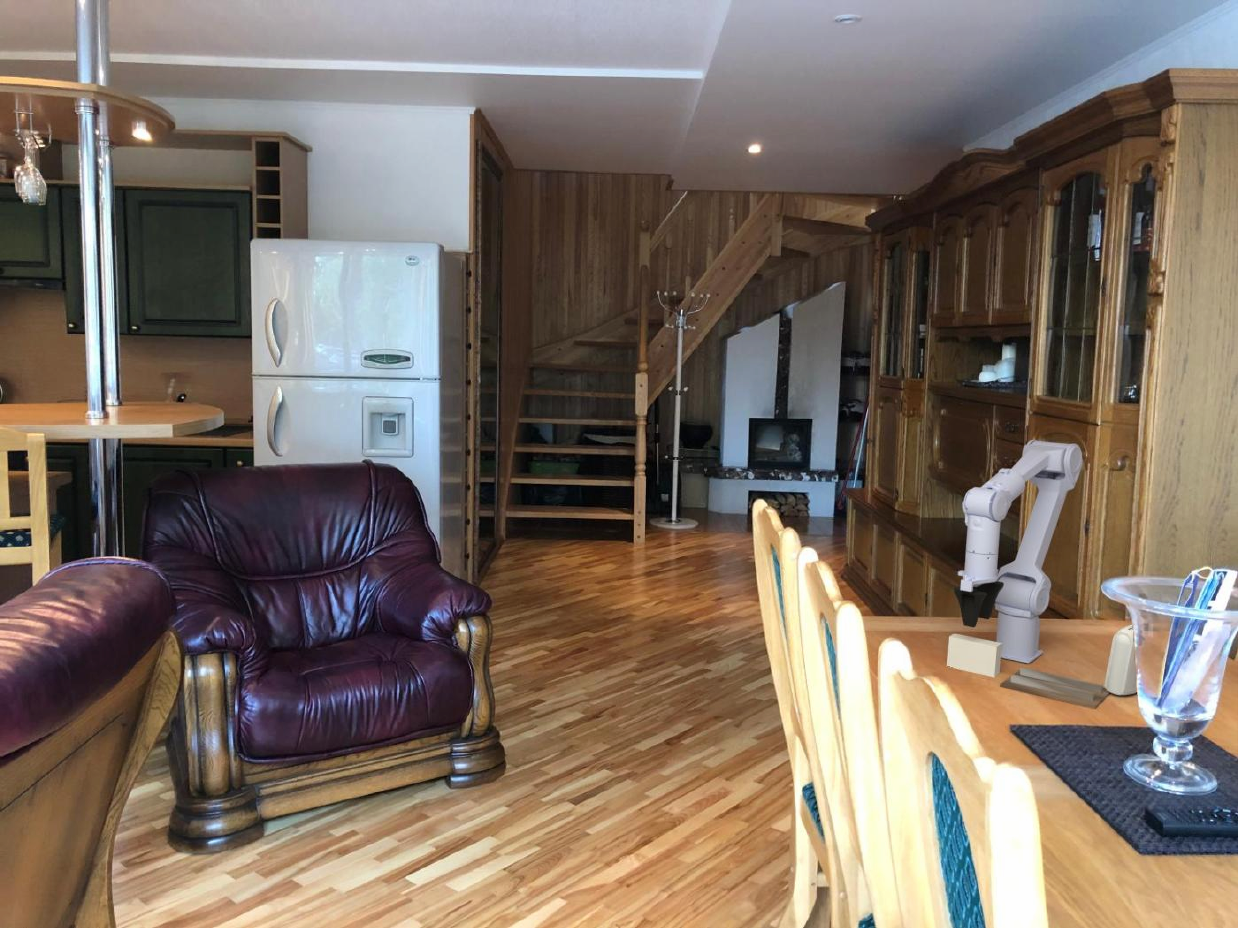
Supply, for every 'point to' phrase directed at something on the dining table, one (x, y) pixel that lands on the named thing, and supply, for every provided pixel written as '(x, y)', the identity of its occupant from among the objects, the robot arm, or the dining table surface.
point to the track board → (1057, 687)
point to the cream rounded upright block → (1121, 664)
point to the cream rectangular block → (974, 655)
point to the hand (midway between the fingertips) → (976, 621)
